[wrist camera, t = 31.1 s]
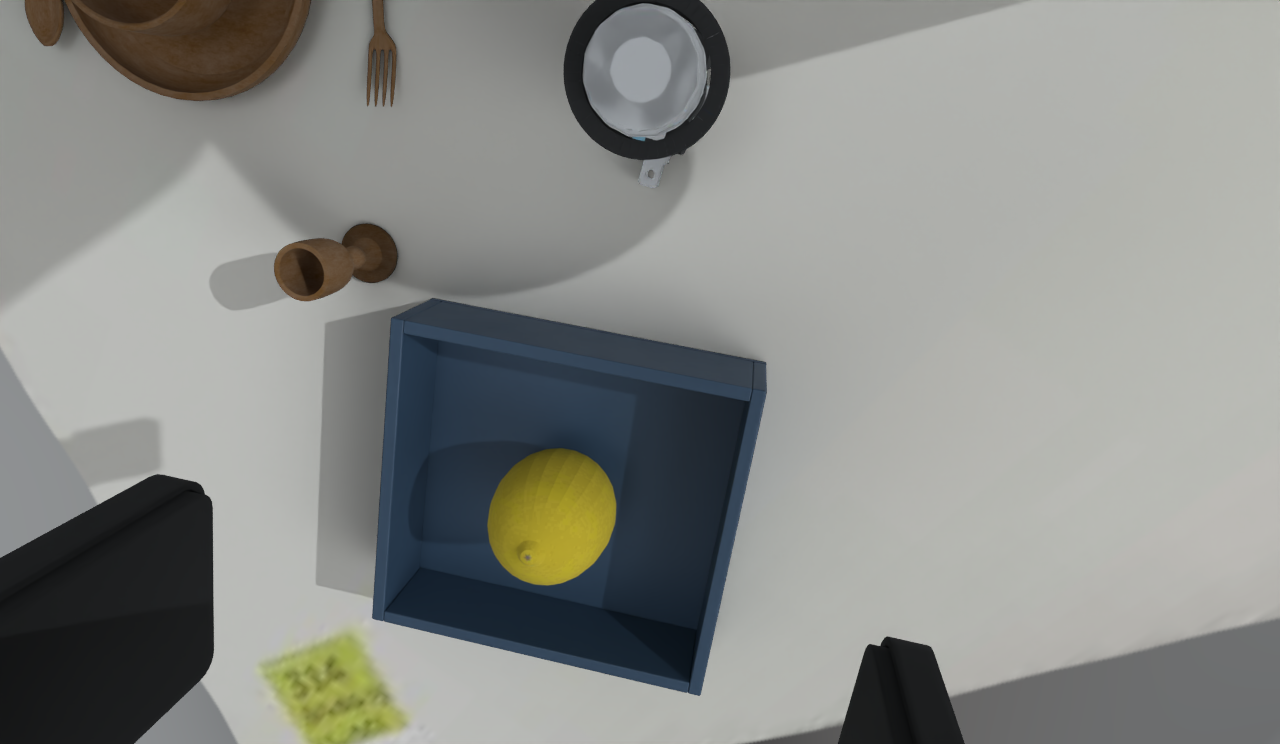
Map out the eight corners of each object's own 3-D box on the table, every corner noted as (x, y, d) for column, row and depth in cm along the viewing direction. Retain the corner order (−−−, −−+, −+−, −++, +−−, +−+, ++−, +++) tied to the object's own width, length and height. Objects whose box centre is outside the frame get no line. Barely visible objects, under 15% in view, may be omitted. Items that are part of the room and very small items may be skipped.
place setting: (383, -201, 32) (302, -275, 26) (410, 284, 38) (349, 309, 32) (6, -189, 34) (-143, -255, 29) (85, 265, 40) (-25, 285, 34)
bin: (766, 362, 36) (767, 391, 32) (706, 638, 41) (700, 696, 36) (432, 297, 38) (390, 317, 33) (411, 570, 42) (371, 619, 38)
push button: (706, 201, 34) (685, 222, 25) (592, 166, 35) (528, 173, 25) (755, 44, 32) (752, 2, 23) (633, 8, 33) (580, -48, 23)
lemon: (616, 418, 38) (579, 487, 30) (638, 521, 39) (608, 613, 31) (508, 432, 39) (446, 502, 31) (533, 533, 40) (480, 624, 32)
